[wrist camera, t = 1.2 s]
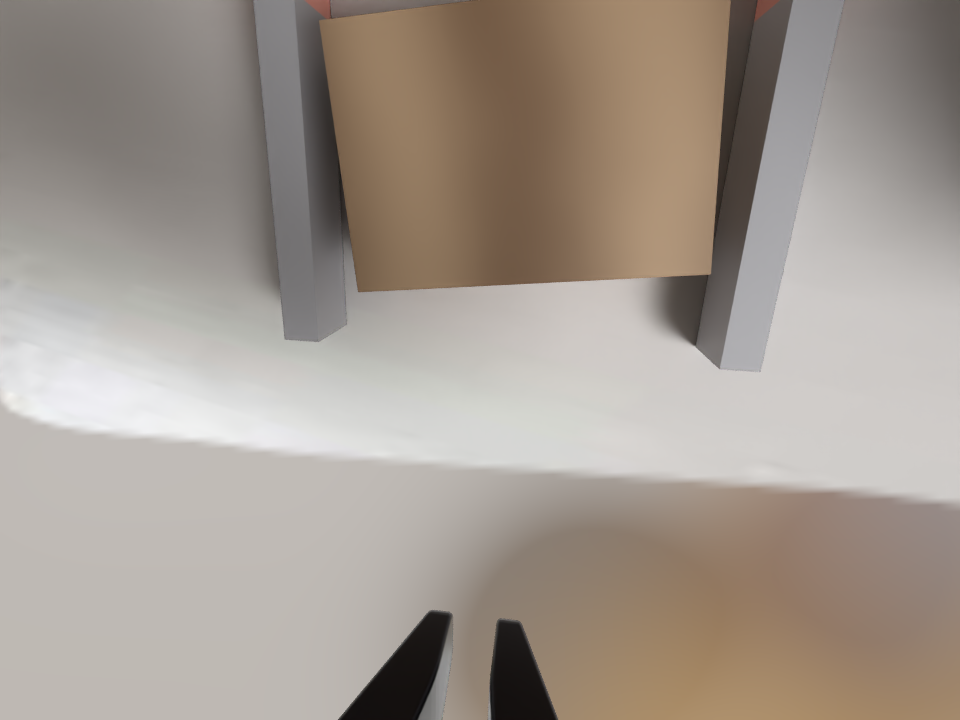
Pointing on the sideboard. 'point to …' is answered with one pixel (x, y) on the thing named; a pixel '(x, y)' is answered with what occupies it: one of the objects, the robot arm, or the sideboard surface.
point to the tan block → (529, 139)
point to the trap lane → (745, 203)
